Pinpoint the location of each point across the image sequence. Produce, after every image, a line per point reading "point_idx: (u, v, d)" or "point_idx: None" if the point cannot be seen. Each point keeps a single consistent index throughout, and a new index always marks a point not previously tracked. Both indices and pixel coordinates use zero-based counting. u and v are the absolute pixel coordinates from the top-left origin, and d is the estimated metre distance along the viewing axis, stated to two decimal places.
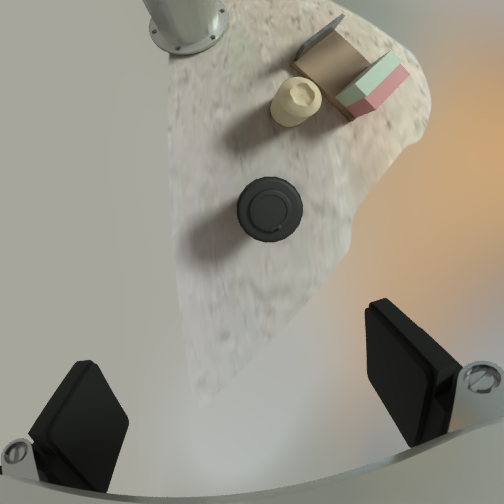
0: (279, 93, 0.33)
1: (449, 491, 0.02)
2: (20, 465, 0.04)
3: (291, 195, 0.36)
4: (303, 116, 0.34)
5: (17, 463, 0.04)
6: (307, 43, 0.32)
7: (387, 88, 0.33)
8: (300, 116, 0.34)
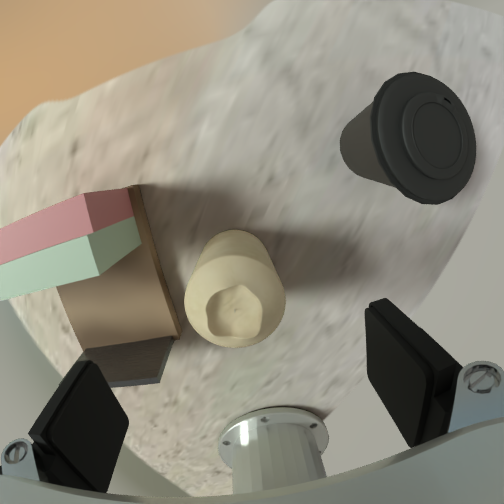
0: (271, 331, 0.17)
1: (449, 491, 0.02)
2: (20, 465, 0.04)
3: (390, 128, 0.14)
4: (257, 262, 0.16)
5: (17, 463, 0.04)
6: (149, 380, 0.18)
7: (37, 228, 0.14)
8: (263, 266, 0.16)
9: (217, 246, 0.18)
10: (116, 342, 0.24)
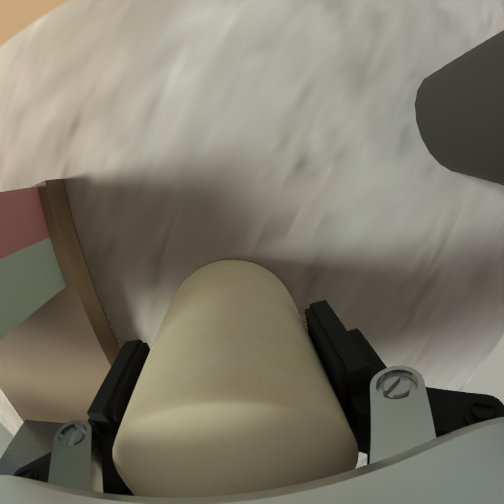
0: None
1: (449, 491, 0.02)
2: (73, 450, 0.05)
3: None
4: (302, 416, 0.05)
5: (70, 446, 0.05)
6: None
7: None
8: (319, 421, 0.05)
9: (190, 325, 0.07)
10: (59, 420, 0.13)
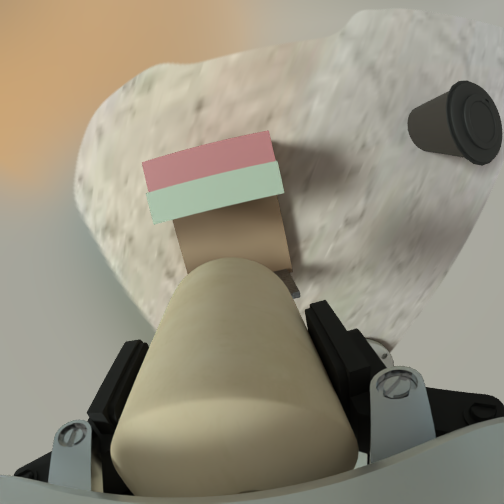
0: None
1: (449, 491, 0.02)
2: (73, 450, 0.05)
3: (457, 115, 0.19)
4: (301, 412, 0.05)
5: (71, 446, 0.05)
6: (292, 295, 0.24)
7: (215, 155, 0.20)
8: (319, 418, 0.05)
9: (189, 322, 0.07)
10: None
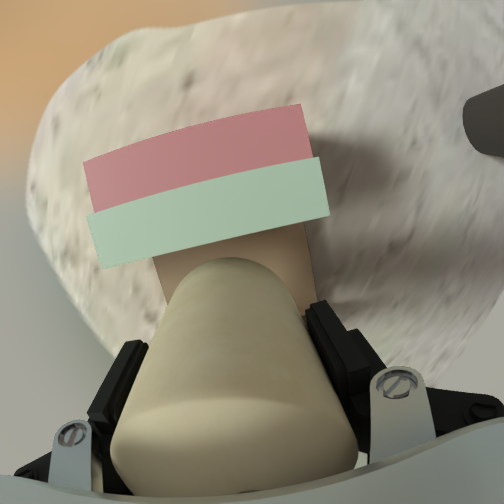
0: None
1: (449, 491, 0.02)
2: (73, 450, 0.05)
3: None
4: (301, 412, 0.05)
5: (70, 447, 0.05)
6: None
7: (205, 146, 0.11)
8: (319, 418, 0.05)
9: (189, 321, 0.07)
10: None
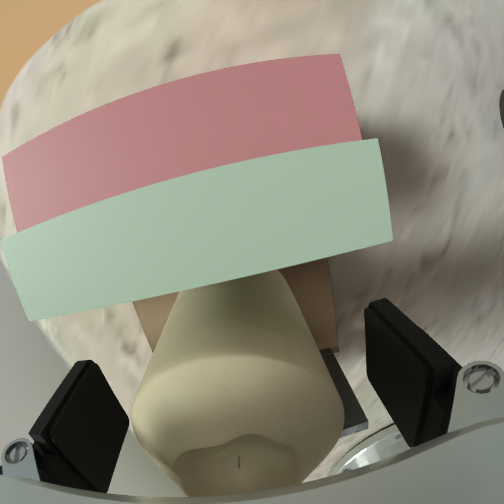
0: None
1: (449, 491, 0.02)
2: (20, 465, 0.04)
3: None
4: (292, 369, 0.06)
5: (17, 463, 0.04)
6: (353, 428, 0.10)
7: (178, 118, 0.06)
8: (307, 375, 0.06)
9: (199, 303, 0.09)
10: None
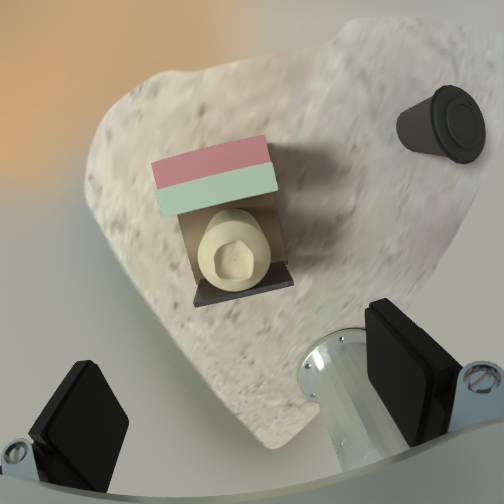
0: (261, 277, 0.23)
1: (449, 491, 0.02)
2: (20, 465, 0.04)
3: (440, 118, 0.21)
4: (249, 226, 0.22)
5: (17, 463, 0.04)
6: (286, 283, 0.26)
7: (217, 156, 0.22)
8: (254, 228, 0.22)
9: (220, 218, 0.25)
10: None
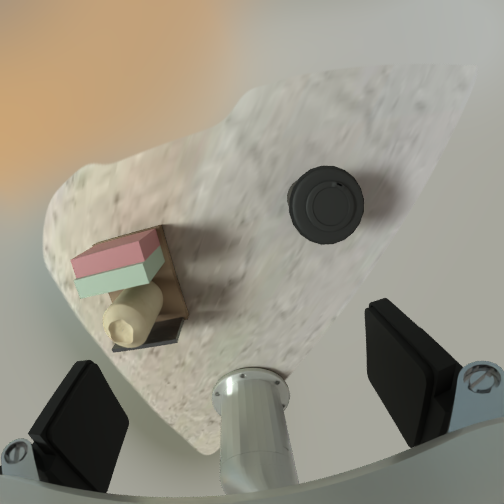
0: (143, 341, 0.31)
1: (449, 491, 0.02)
2: (20, 465, 0.04)
3: (299, 206, 0.29)
4: (130, 308, 0.30)
5: (17, 463, 0.04)
6: (171, 341, 0.34)
7: (109, 257, 0.30)
8: (133, 310, 0.30)
9: (121, 295, 0.33)
10: None
